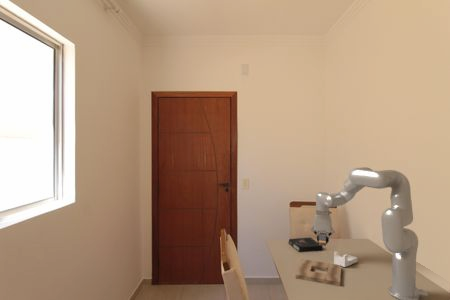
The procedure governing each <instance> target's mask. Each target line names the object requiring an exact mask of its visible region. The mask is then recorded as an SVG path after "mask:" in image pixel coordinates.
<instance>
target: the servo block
mask: <svg viewBox="0 0 450 300" xmlns="http://www.w3.org/2000/svg"><path fill="white" fill-rule="evenodd" d="M326 236H327V235H326V232H319V245H322V247H323V246H325V247H326V246H327V244H326Z"/></svg>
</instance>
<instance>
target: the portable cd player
mask: <svg viewBox="0 0 450 300" xmlns="http://www.w3.org/2000/svg"><path fill="white" fill-rule="evenodd" d="M288 244H289V245H290V246H291V247H292V248H293V249H294V250H296V251H297V252H298V253H309V252H319V251H320V252H323V245H319V243H318V241H317V240H315V239H314V238H312V237H300V238H299V237H298V238H297V237H296V238H289V239H288Z"/></svg>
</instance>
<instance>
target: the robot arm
mask: <svg viewBox="0 0 450 300" xmlns="http://www.w3.org/2000/svg"><path fill="white" fill-rule="evenodd" d="M343 186H344V188H342V190H341V191H338V192H337V193H330V194H329V193H327V192H323V191H322V192H321V191H319V192H317V193H316V194H315V214H314V218H313V226H312V227H311V229H310V230H311V232H312V233H313V234H314V235H316V241H317V242H318V243H319V233H320V232H321V233H326V235H327V236H326V245H328V243H329V242H330V241H329V239H330V238H329V237H330V236H332V235H333V234H335V232H336V231H335V230H334V228H333V227H332V216H331V214H333V212H332V211H330V208H335V207H341V206H343V205H345V204H347V203H348V202H349V201H351V200H352V199H354V198H355V196H356V194H357V193H358V192H360V191H361V190H362V189H364V188H366V187H367V188H372V189H377V190H378V189H381V190H383V189H387V188H391V191H390V196H389V197H390V207H388V208H386V209H385V210H384V211H383V212H382V215H381V218H380V221H381V230H382V241H383V244H384V247H385V248H386V249H387V250H388V251H389V252H390V253H392V259H391V260H392V265H391V266H392V269H391V271H392V272H391V275H392V276H391V280H392V281H391V286H389V287H388V290H387V291H388V294H389V295H391V296H392V297H394V298H395V299H397V300H420V296H423V297H429V296H428V295H429V293H428V291H426V290H425V291H424V289H423V288H418V287H417V284H416V283H417V281H416V280H417V255H418V247H419V238H418V235H417V234H416V232H414V230H412V229H410V228H407V226H409V225H411V224H412V223H413V221H414V214H413V213H414V212H413V204H412V195H411V193H412V192H411V184H410V181H409V179H408V177H407V176H406V175H405V174H404V173H402V172H401V171H397V170H395V169H394V170H393V169H385V170H373V169H371V168H370V167H355V168H353V169H352V170H351V171H349V174H348V178H347V179H345V181H343Z"/></svg>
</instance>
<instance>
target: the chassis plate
mask: <svg viewBox="0 0 450 300" xmlns="http://www.w3.org/2000/svg"><path fill="white" fill-rule="evenodd" d="M312 270H317V271H322V272H326V273H322V272H317V271H312ZM341 275H342V266H341V265H336V264H334V263H329V262H323V261H318V260H317V261H316V260H309V259H304V258H302V259H301V261H300V264H299V266H298V269H297V271H296V273H295V279H300V280H305V281H310V282H315V283H321V284H326V285H332V286H337V287H341V278H342V277H341Z"/></svg>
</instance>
